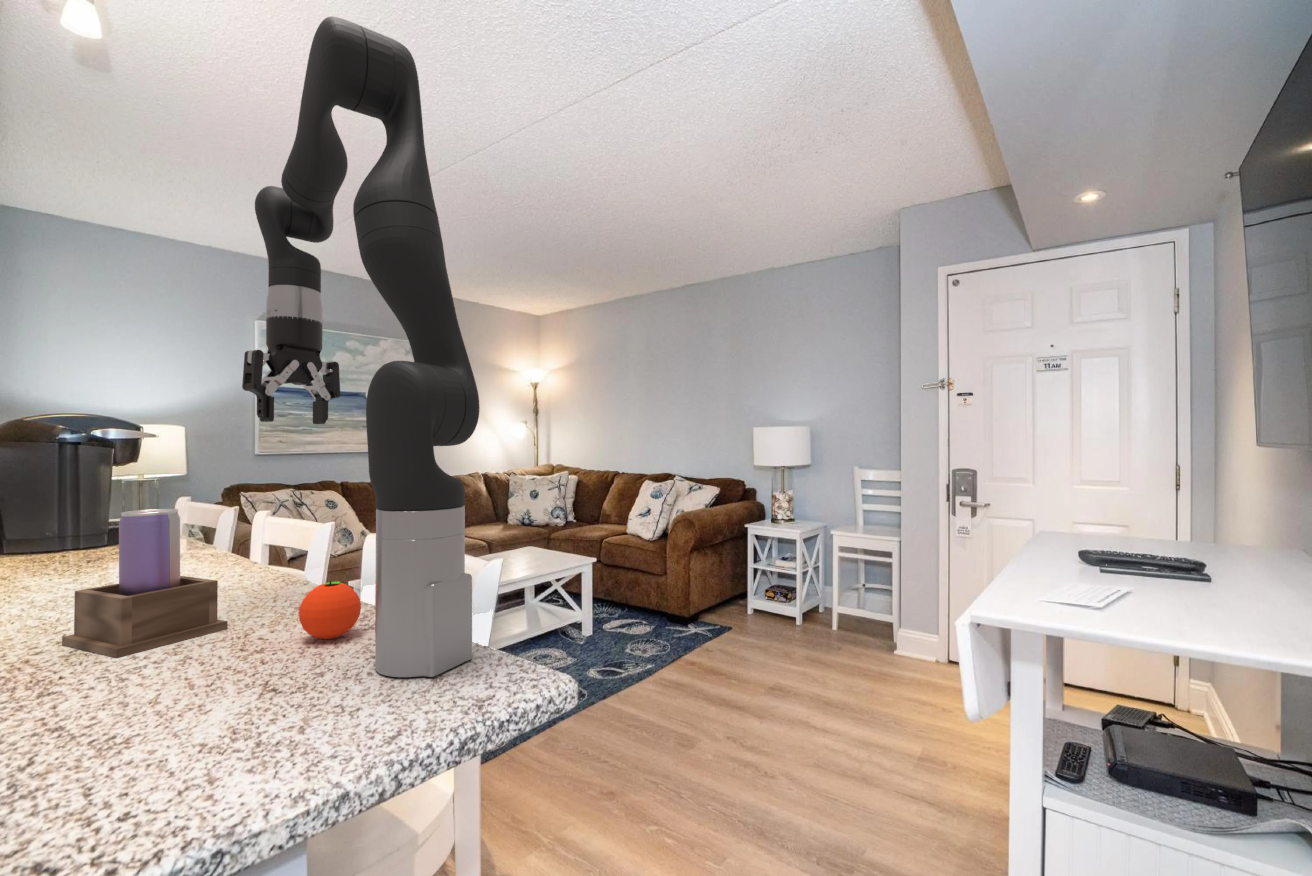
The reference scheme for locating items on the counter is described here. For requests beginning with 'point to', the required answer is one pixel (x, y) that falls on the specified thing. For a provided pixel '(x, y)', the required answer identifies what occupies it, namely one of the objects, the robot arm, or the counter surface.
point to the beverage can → (149, 551)
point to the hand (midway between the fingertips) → (294, 422)
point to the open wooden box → (143, 617)
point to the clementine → (329, 610)
